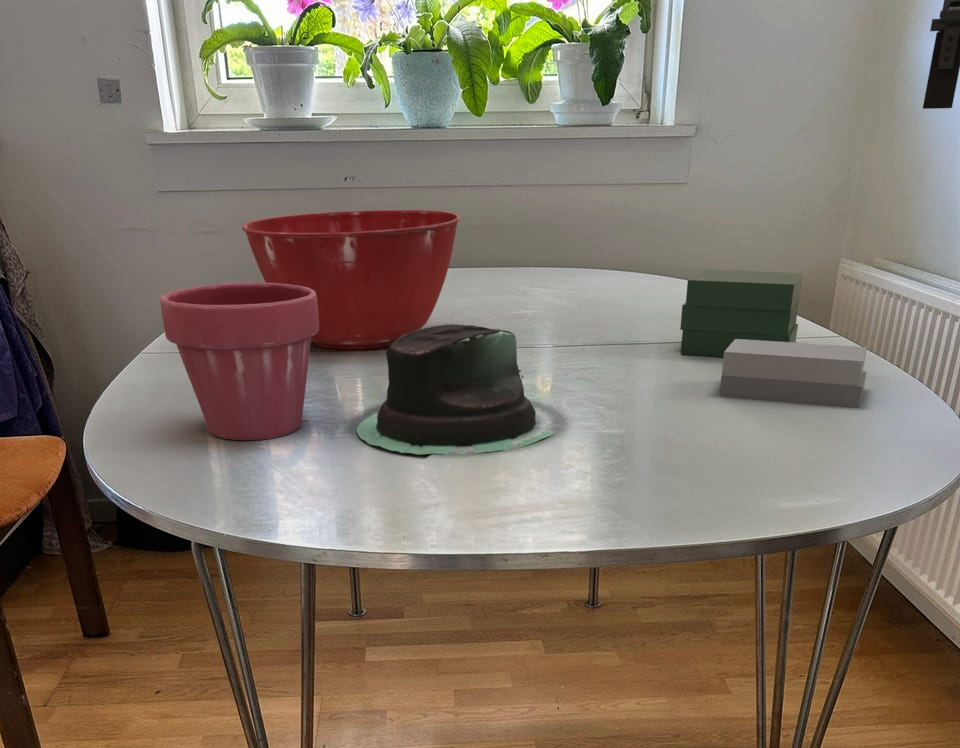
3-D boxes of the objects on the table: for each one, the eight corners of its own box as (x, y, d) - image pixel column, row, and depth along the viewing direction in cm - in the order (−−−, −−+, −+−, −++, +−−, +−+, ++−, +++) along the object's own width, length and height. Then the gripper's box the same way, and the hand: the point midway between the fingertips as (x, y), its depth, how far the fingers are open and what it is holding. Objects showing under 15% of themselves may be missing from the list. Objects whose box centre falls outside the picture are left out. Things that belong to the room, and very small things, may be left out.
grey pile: (862, 394, 101) (871, 347, 99) (858, 411, 96) (867, 361, 93) (730, 384, 106) (735, 338, 104) (718, 399, 100) (723, 351, 98)
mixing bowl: (255, 369, 116) (238, 233, 109) (257, 325, 141) (243, 212, 133) (480, 355, 121) (478, 224, 113) (444, 315, 145) (440, 205, 138)
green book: (799, 298, 120) (803, 273, 118) (790, 311, 112) (794, 284, 111) (700, 293, 124) (703, 269, 122) (685, 305, 116) (687, 279, 115)
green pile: (794, 347, 122) (801, 299, 119) (786, 361, 115) (793, 310, 112) (691, 341, 127) (696, 294, 124) (678, 354, 120) (682, 304, 117)
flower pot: (337, 407, 100) (325, 279, 94) (317, 447, 88) (302, 304, 82) (203, 409, 100) (182, 282, 94) (164, 450, 88) (138, 307, 82)
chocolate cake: (431, 381, 105) (597, 407, 97) (349, 504, 98) (522, 544, 89) (390, 264, 93) (575, 282, 85) (293, 393, 86) (486, 427, 77)
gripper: (941, -117, 102) (902, 109, 112) (943, -172, 82) (895, 109, 92) (1019, -124, 99) (972, 107, 110) (1041, -183, 79) (980, 107, 90)
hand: (936, 109), depth 101 cm, fingers open, 13 cm apart
